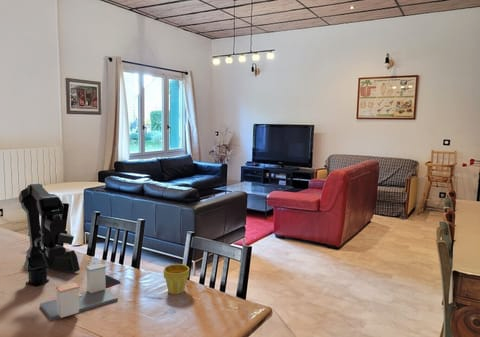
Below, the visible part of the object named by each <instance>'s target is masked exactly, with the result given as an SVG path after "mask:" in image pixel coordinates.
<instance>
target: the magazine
mask: <svg viewBox="0 0 480 337" xmlns="http://www.w3.org/2000/svg"><path fill="white" fill-rule="evenodd" d="M29 249H30V247H29V248H28V250H27V251H26V254H27V253H28V251H29ZM26 258H27V255H26V256H25V259H26ZM47 269H48V270H52V271H57V272H66V273H78V272H79V271H81V268H80V264H79V260H78V255H77V254H76V252H75V250H69V251H68V250H66V254H65V255H60V256H55V259H54V263H53V266H52V268H46V270H47Z"/></svg>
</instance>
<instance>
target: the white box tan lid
mask: <svg viewBox="0 0 480 337" xmlns="http://www.w3.org/2000/svg"><path fill="white" fill-rule="evenodd" d="M55 289H56V299H57V314H58V315H59V316H60V317H61V318H60V319H62V318H65V317H68V316H69V317H70V316H72V315H75V314H79V313H80V312H79V293H80V286H79V284H77V283H76V282H70V283H67V284H63V285H59V286H58V285H57V286H55Z"/></svg>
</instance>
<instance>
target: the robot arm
mask: <svg viewBox="0 0 480 337" xmlns="http://www.w3.org/2000/svg"><path fill="white" fill-rule="evenodd" d="M18 202H19V203H20V205H21V206H20V207H21V209H22V210H24V212H25V213H26V219H27V228H28V234H29V235H28V238H29V243H30V244H29V245H30V246H29V248H30V249H29V248H28V250H29V251H28V250H27V251H28V253H27V252H26V256H27V258H26V257H25V261H24V263H23V264H24V270H25V271H26V272H27V274H28V275H27V276H28V281H26V282H25V285H28V286H29V285H30V286H34V287H40V286H41V285H43V284H45V283H47V282H50V279H49V278H48V276H47V268H52V266H53V263H54V259H55V256H60V255H65V254H66V251H67V248H66V247H64V246H63V245H61V244H67V245H73V244H72V243H73V242H74V238H75V237H74V236H73V235H72V234H70V233H68V231H67V230H66V229H67V223H66V221H65V220H64V219H63V218H61V215H64V212H65V207H64V205H63V202H62V200H61V198H60V197H59V196H58V194H54V193H49V192H48V191H47V190H46V188H44V186H43V184H41V183H33V184H31V183H30V184H28V185H27V186H26V188H24V189H22V190H21V191H20V193H19V195H18Z"/></svg>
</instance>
